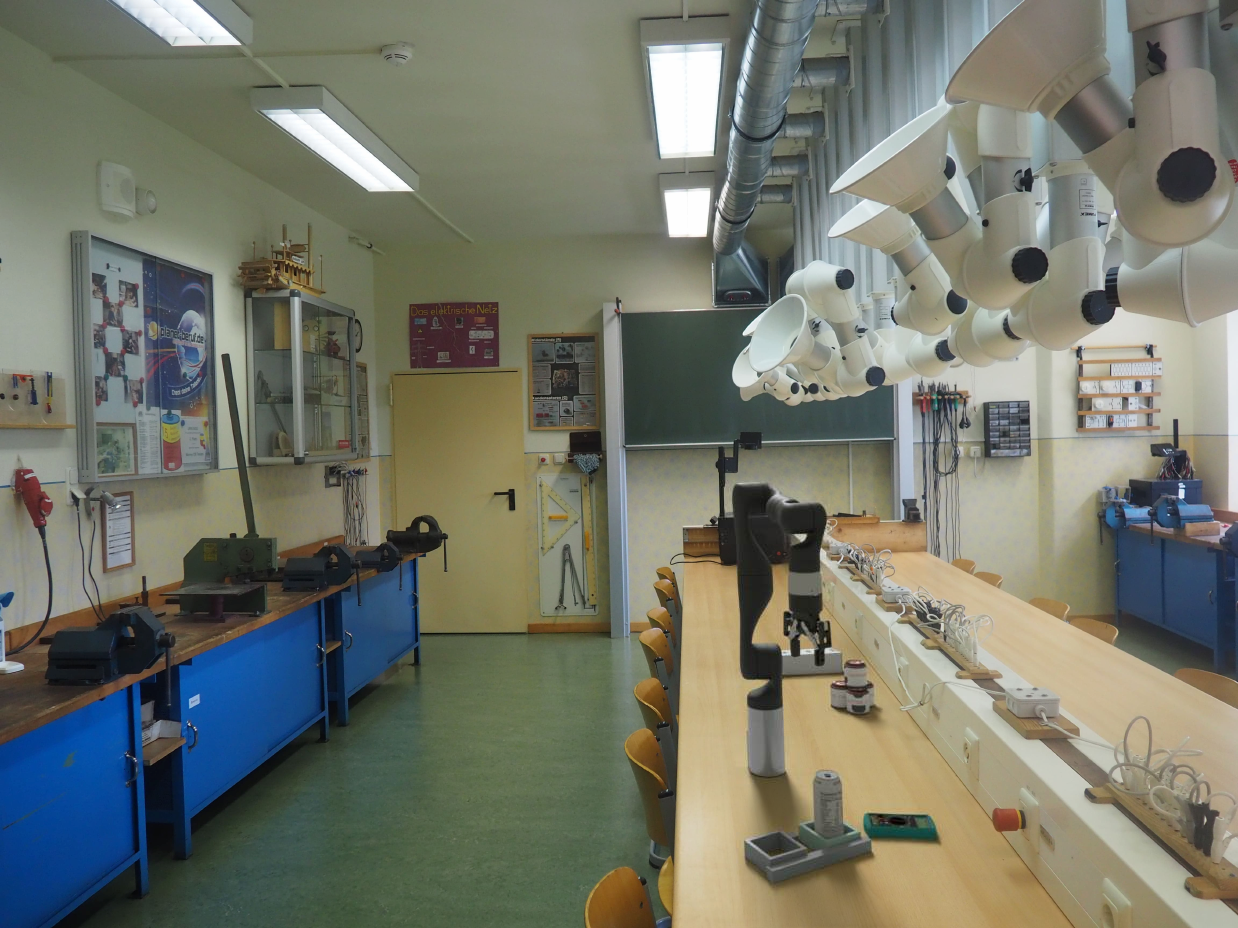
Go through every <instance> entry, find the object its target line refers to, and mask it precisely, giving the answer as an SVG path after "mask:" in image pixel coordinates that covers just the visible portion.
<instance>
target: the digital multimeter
mask: <svg viewBox="0 0 1238 928" xmlns="http://www.w3.org/2000/svg"><path fill="white" fill-rule="evenodd" d="M862 822H863V830H864V832H865V833H866V836H868V838H869V837H870V838H888V839H889V838H892V839H894V838H896V839H914V840H915V839H917V840H934V841H935V840H937V839H938V830H937V826H936V824H935V821H934V820H933V818H932V816H930V815H929V814H913V813H912V814H911V813H910V814H909V813H908V814H907V813H906V814H904V813H881V812H879V813H878V812H867V813H864V815H863V819H862Z"/></svg>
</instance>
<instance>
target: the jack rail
mask: <svg viewBox="0 0 1238 928" xmlns="http://www.w3.org/2000/svg"><path fill="white" fill-rule="evenodd" d="M843 831H844V835H840V836H837V837H834V838H831V839H825V838H823V837H822V836H820V835H819V834H817V833H816V832H814V819H811V820H808V821H805V822H801V823H798V834H797V833H796V832H795V831H790V832H787V833H785V832H784V831H783V830H781V829H777V830H773V831H771V832H768V833H767V832H766V833H763V834H760V835H756V836H753V837H749V838H746V839H744V840H743V845H744V847H743V849H744V857H745V858H746V859H747V860H748V861H750V862H751V863H752V864H754V865H755V866H756V867H757V868H758V869H759V870H761V871H762V872H764V874H766V879H767V880H768V881H769V882H770V883H772V884H776V883H778V882H779V883H780V882H781V881H784V880H788V879H791V878H794V877H796V876H800V875H803V874H806V873H809V872H812V871H816V870H818V869H821V868H825V867H827V866H831V865H834V864H836V863H840V862H843V861H847V860H849V859H852V858H855V857H858V856H861V855H865V854H867V853H871V852H872V851H873V850H872V849H873V848H872V847H873V846H872V839H871V838H869V837H867V835H862V832H861V831H860V830H859V829H857V828H855V827H854V826H853V825H850V824H849V823H847V822H846V821H844V820H843ZM800 842H801V843H800ZM802 843H803V844H804V845H805V846H804V845H803V844H802ZM806 846H807V847H808V848H810V849H811V850H813V851H812V852H809V853H808V848H807V847H806ZM778 849H779V850H781V851H782V852H783V853H780V854H777V855H773V856H770V855H769V854H768V852H773V851H776V850H778Z"/></svg>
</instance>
